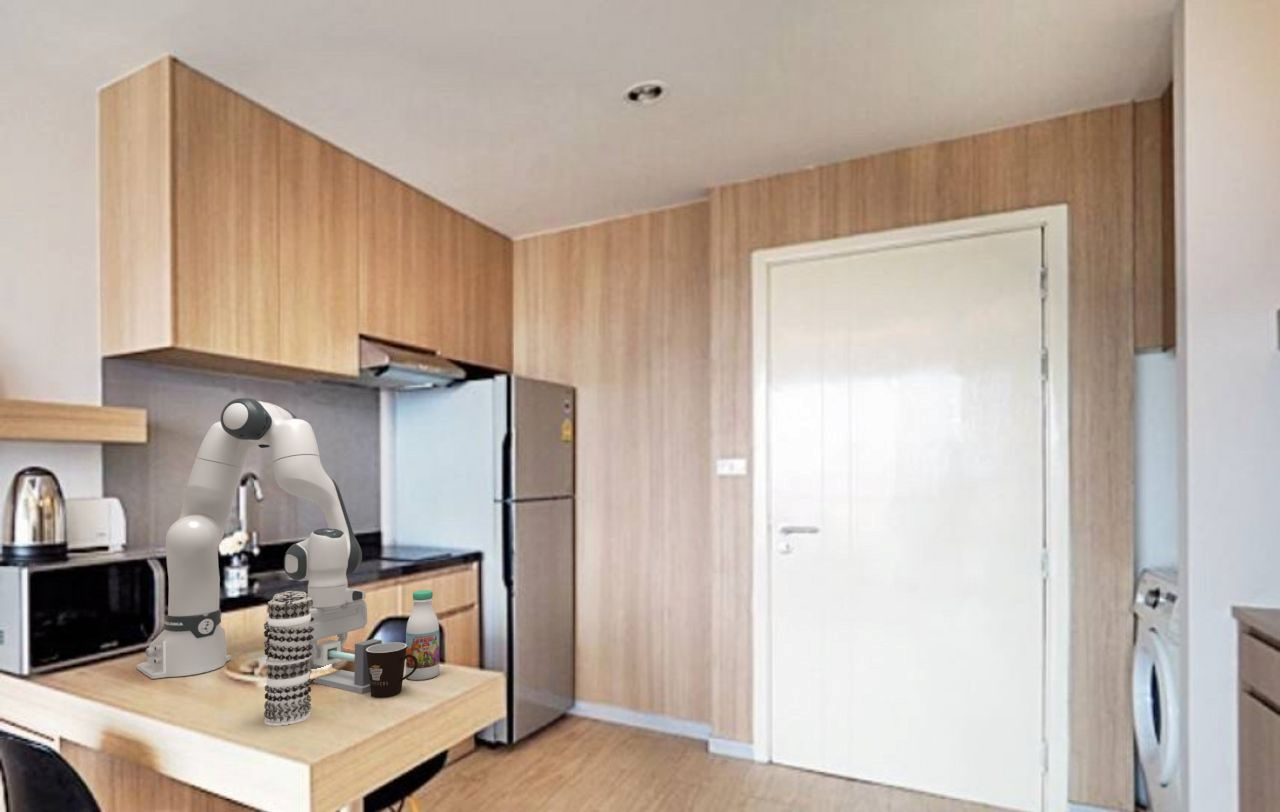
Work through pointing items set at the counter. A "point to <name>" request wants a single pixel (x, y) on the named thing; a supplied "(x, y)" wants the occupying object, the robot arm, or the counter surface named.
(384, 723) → the counter surface
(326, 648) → the marker sleeve
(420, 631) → the milk bottle
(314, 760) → the counter surface
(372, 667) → the coffee mug
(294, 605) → the decorative candle
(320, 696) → the counter surface
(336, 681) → the grey rod holder
